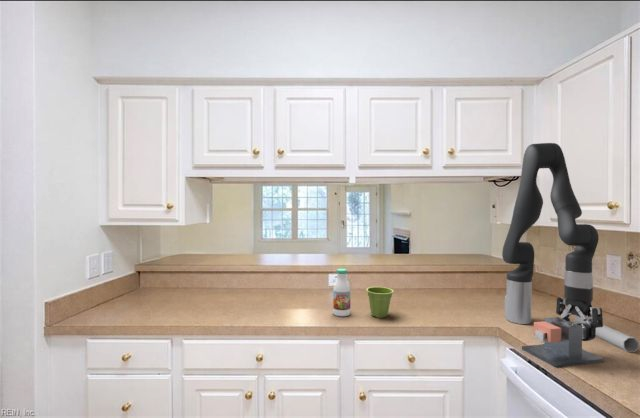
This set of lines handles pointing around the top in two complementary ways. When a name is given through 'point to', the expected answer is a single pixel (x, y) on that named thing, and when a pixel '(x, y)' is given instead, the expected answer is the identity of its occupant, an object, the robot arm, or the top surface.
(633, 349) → the tube
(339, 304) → the milk bottle
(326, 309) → the top surface
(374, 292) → the plant pot
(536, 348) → the bearing block
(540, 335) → the shaft
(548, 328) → the block
